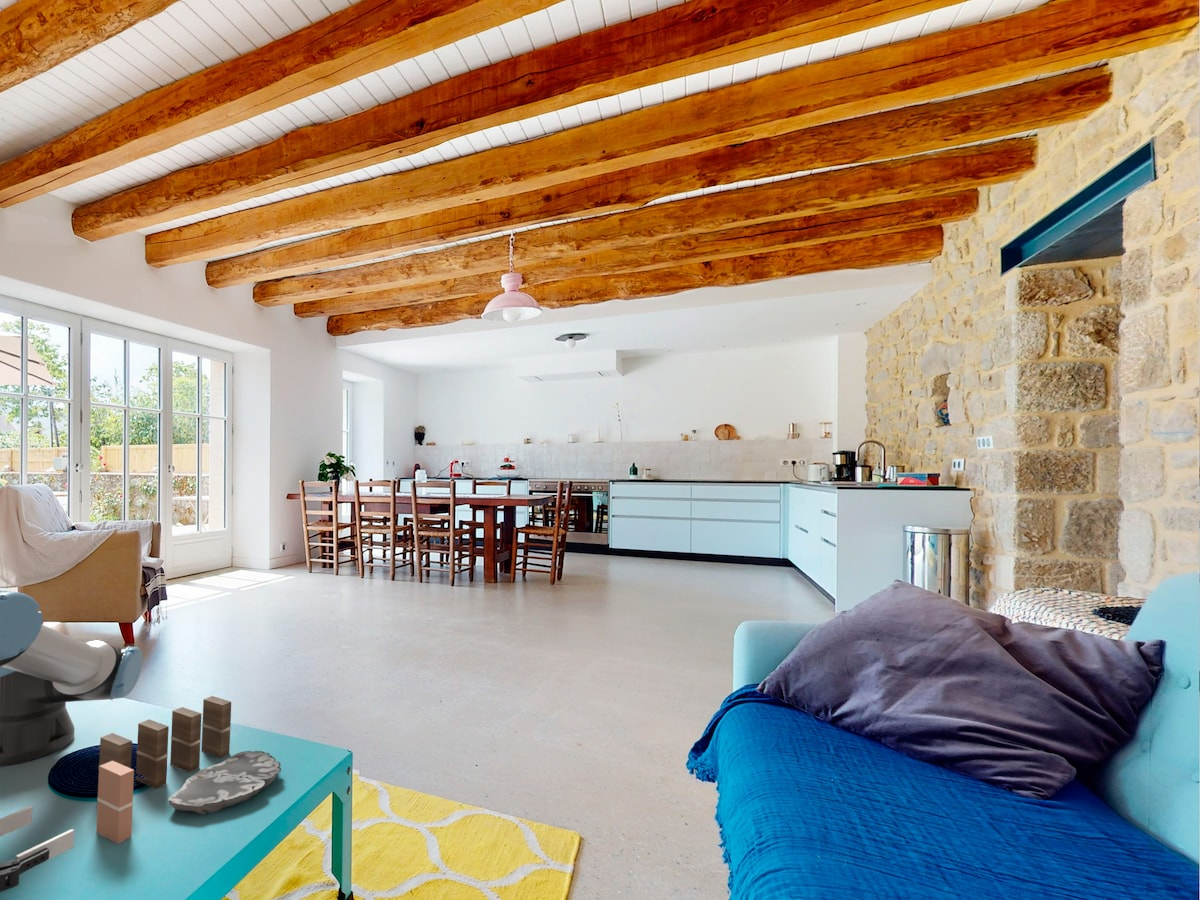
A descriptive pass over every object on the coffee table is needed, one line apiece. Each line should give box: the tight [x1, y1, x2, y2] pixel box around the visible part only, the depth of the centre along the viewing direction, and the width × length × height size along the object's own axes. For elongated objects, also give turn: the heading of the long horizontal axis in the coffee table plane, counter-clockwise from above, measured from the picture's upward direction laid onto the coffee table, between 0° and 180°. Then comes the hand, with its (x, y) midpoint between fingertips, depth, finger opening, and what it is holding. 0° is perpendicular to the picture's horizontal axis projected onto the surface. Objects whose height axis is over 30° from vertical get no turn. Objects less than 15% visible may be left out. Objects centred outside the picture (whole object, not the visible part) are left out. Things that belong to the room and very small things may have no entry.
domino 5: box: [200, 695, 232, 759], centre depth 126 cm, size 2×7×12 cm, turn 67°
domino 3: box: [135, 719, 170, 790], centre depth 114 cm, size 2×7×12 cm, turn 67°
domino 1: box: [97, 732, 133, 782], centre depth 108 cm, size 2×7×12 cm, turn 67°
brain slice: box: [168, 750, 282, 815], centre depth 112 cm, size 20×17×3 cm
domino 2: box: [95, 761, 135, 844], centre depth 99 cm, size 2×7×12 cm, turn 67°
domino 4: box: [169, 706, 202, 773], centre depth 120 cm, size 2×7×12 cm, turn 67°
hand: (51, 825), depth 90 cm, fingers open, 13 cm apart
